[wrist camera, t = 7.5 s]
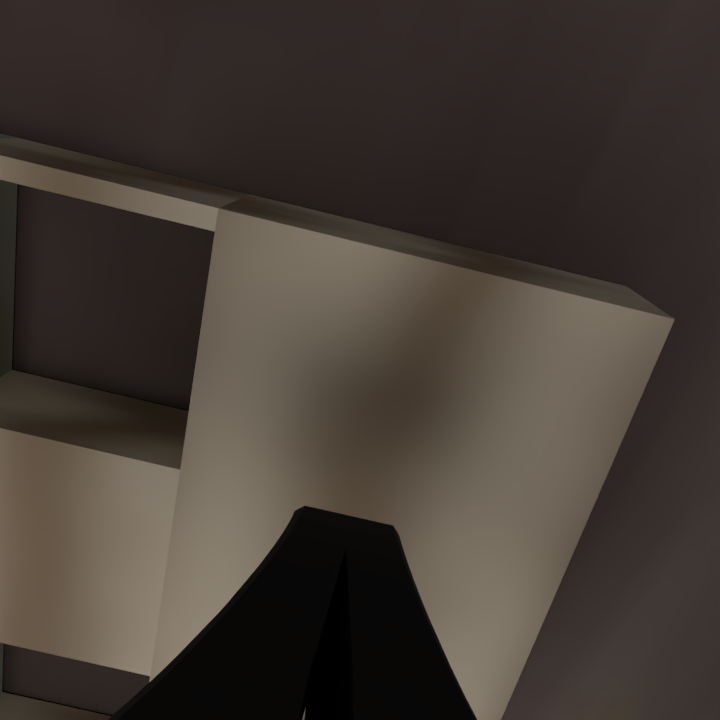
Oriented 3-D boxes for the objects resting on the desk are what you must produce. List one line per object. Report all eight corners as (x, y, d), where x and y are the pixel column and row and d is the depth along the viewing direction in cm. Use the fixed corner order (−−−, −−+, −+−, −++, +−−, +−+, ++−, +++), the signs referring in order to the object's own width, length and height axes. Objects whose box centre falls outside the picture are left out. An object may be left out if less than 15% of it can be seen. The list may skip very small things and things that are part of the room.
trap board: (626, 286, 16) (707, 341, 12) (424, 794, 23) (430, 943, 19) (-217, 80, 16) (-447, 61, 11) (-161, 666, 23) (-289, 788, 18)
